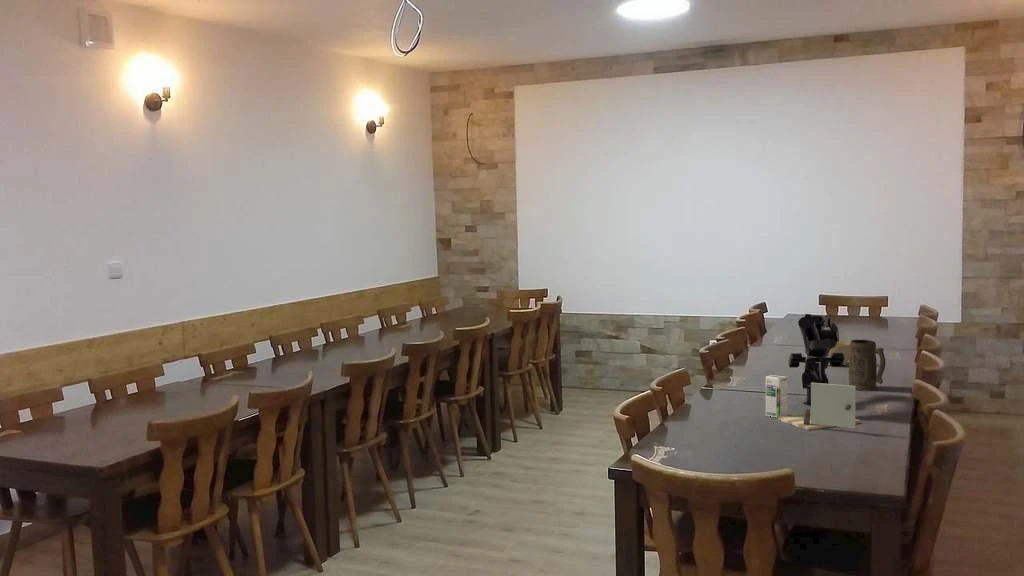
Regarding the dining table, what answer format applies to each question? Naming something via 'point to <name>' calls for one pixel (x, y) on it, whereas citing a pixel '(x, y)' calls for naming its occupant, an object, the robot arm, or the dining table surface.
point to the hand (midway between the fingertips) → (820, 379)
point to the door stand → (805, 421)
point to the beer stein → (865, 365)
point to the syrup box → (776, 396)
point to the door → (833, 405)
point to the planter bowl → (841, 350)
